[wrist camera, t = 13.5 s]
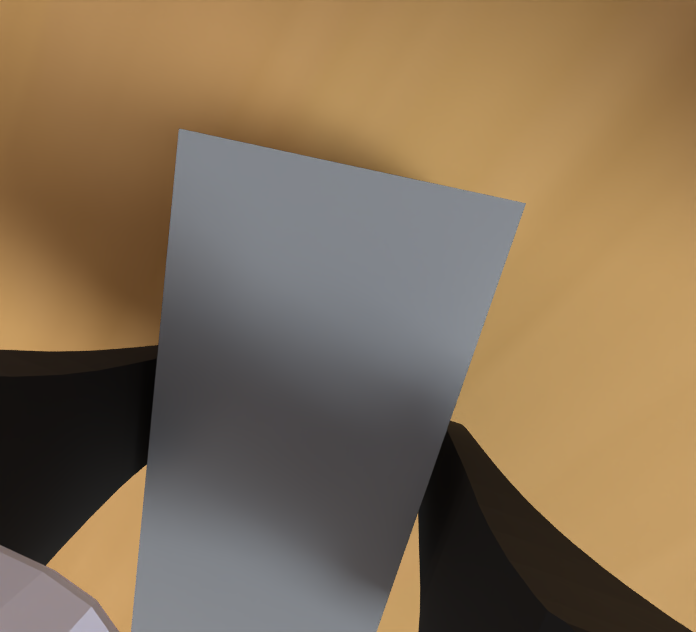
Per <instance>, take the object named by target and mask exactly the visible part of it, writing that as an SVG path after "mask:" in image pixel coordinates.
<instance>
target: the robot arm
mask: <svg viewBox="0 0 696 632" xmlns="http://www.w3.org/2000/svg"><path fill="white" fill-rule="evenodd" d="M157 355H158V345H155V346H145V347H135V348H122V349H110V350H96V351H60V352H46V351H19V350H0V632H119V631H118V630H117V628H116V627H115V625H114V624H113V623H112V621H111V620H110V618H109V617H108V615H107V614H106V613H105V611H104V610H103V608H102V607H101V606H100V604H99V603H98V601H97V600H96V599H94V598H93V597H91V596H90V595H89V594H87V593H86V592H84V591H83V590H82V589H80V588H79V587H77V586H76V585H75V584H73V583H72V582H70V581H69V580H68V579H66V578H65V577H63V576H62V575H60V574H59V573H58V572H56V571H55V570H53V569H51V568H49V567H46V565H47V563H48V562H49V561H50V560H51V559H52V558H53V557H54V556H55V554H56V553H57V552H58V551H59V550H60V549H61V548H62V547H63V546H64V545H65V544H66V543H67V541H68V540H69V539H70V538H71V537H72V536H73V535H74V534H75V533H76V532H77V531H78V530H79V529H80V528H81V527H82V526H83V525H84V523H85V522H86V521H87V520H88V519H89V518H90V517H91V516H92V515H93V514H94V513H95V512H96V511H97V510H98V509H99V508H100V507H101V506H102V505H103V504H104V503H105V502H106V501H107V500H108V499H109V498H110V497H111V496H112V495H113V494H114V493H115V492H116V491H117V490H118V489H119V488H120V487H121V486H122V485H123V484H124V483H126V482H127V481H128V480H129V479H130V478H131V477H132V476H133V475H135V474H136V473H137V472H138V471H139V470H141V469H142V468H143V467H144V466H145V465H147V460H148V449H149V439H150V428H151V418H152V407H153V397H154V386H155V376H156V365H157ZM418 520H419V558H420V618H419V632H692V631H691V630H689V629H688V628H686V627H685V626H683V625H682V624H680V623H679V622H677V621H675V620H674V619H673V618H671V617H670V616H668V615H667V614H665V613H664V612H662V611H661V610H660V609H658V608H657V607H656V606H654V605H653V604H651V603H650V602H649V601H647V600H646V599H644V598H643V597H642V596H640V595H639V594H637V593H636V592H635V591H633V590H632V589H630V588H629V587H628V586H626V585H625V584H624V583H622V582H621V581H620V580H618V579H617V578H616V577H614V576H613V575H612V574H611V573H609V572H608V571H607V570H605V569H604V568H603V567H601V566H600V565H599V564H598V563H597V562H595V561H594V560H593V559H592V558H590V557H589V556H588V555H587V554H586V553H584V552H583V551H582V550H581V549H579V548H578V547H577V546H576V545H575V544H573V543H572V542H571V541H570V540H569V539H568V538H566V537H565V536H564V535H563V534H562V533H561V532H560V531H558V530H557V529H556V528H555V527H554V526H553V525H552V524H551V523H550V522H549V521H548V520H547V519H546V518H545V517H543V516H542V515H541V514H540V513H539V512H538V511H537V510H536V509H535V508H534V507H533V506H532V505H531V504H530V503H529V502H528V501H527V500H526V499H525V498H524V497H523V496H522V495H521V494H520V492H519V491H518V490H517V489H516V488H515V487H514V486H513V485H512V484H511V483H510V482H509V480H508V479H507V478H506V477H505V476H504V475H503V474H502V472H501V471H500V470H499V469H498V468H497V466H496V465H495V464H494V463H493V462H492V460H491V459H490V458H489V457H488V455H487V454H486V453H485V452H484V450H483V449H482V448H481V447H480V445H479V444H478V443H477V442H476V440H475V439H474V438H473V436H472V435H471V434H470V433H469V431H468V430H467V429H466V428H465V427H464V426H463V425H462V424H459V423H456V422H452V421H450V422H449V425H448V428H447V431H446V434H445V436H444V439H443V442H442V445H441V448H440V451H439V454H438V457H437V459H436V462H435V465H434V468H433V471H432V474H431V477H430V479H429V482H428V485H427V488H426V491H425V494H424V497H423V500H422V502H421V505H420V508H419V511H418Z"/></svg>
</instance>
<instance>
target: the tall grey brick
mask: <svg viewBox="0 0 696 632" xmlns="http://www.w3.org/2000/svg"><path fill="white" fill-rule="evenodd" d="M525 204H526V203H522V202H517V201H512V200H508V199H503V198H498V197H494V196H489V195H485V194H480V193H475V192H471V191H466V190H461V189H457V188H452V187H447V186H443V185H438V184H434V183H429V182H424V181H420V180H415V179H410V178H406V177H401V176H397V175H392V174H387V173H383V172H378V171H373V170H369V169H364V168H360V167H355V166H350V165H346V164H341V163H336V162H332V161H327V160H322V159H318V158H313V157H309V156H304V155H299V154H295V153H290V152H285V151H281V150H276V149H272V148H267V147H262V146H258V145H253V144H248V143H244V142H239V141H234V140H230V139H225V138H221V137H216V136H211V135H207V134H202V133H197V132H193V131H188V130H184V129H179V133H178V144H177V155H176V165H175V176H174V186H173V197H172V207H171V218H170V228H169V239H168V249H167V260H166V270H165V281H164V291H163V302H162V312H161V323H160V333H159V344H158V355H157V365H156V376H155V386H154V397H153V407H152V418H151V428H150V439H149V449H148V460H147V470H146V481H145V491H144V502H143V512H142V523H141V533H140V544H139V554H138V565H137V576H136V586H135V597H134V607H133V618H132V628H131V632H376V631H377V629H378V626H379V623H380V620H381V617H382V614H383V611H384V608H385V606H386V603H387V600H388V597H389V594H390V591H391V588H392V586H393V583H394V580H395V577H396V574H397V571H398V568H399V565H400V563H401V560H402V557H403V554H404V551H405V548H406V545H407V543H408V540H409V537H410V534H411V531H412V528H413V525H414V522H415V520H416V517H417V514H418V511H419V508H420V505H421V502H422V500H423V497H424V494H425V491H426V488H427V485H428V482H429V479H430V477H431V474H432V471H433V468H434V465H435V462H436V459H437V457H438V454H439V451H440V448H441V445H442V442H443V439H444V436H445V434H446V431H447V428H448V425H449V422H450V419H451V416H452V414H453V411H454V408H455V405H456V402H457V399H458V396H459V393H460V391H461V388H462V385H463V382H464V379H465V376H466V373H467V371H468V368H469V365H470V362H471V359H472V356H473V353H474V350H475V348H476V345H477V342H478V339H479V336H480V333H481V330H482V328H483V325H484V322H485V319H486V316H487V313H488V310H489V307H490V305H491V302H492V299H493V296H494V293H495V290H496V287H497V285H498V282H499V279H500V276H501V273H502V270H503V267H504V264H505V262H506V259H507V256H508V253H509V250H510V247H511V244H512V242H513V239H514V236H515V233H516V230H517V227H518V224H519V221H520V219H521V216H522V213H523V210H524V207H525Z"/></svg>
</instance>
